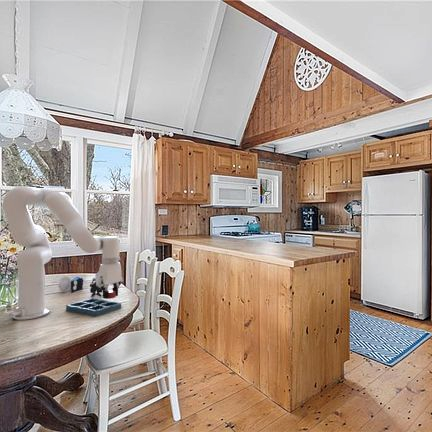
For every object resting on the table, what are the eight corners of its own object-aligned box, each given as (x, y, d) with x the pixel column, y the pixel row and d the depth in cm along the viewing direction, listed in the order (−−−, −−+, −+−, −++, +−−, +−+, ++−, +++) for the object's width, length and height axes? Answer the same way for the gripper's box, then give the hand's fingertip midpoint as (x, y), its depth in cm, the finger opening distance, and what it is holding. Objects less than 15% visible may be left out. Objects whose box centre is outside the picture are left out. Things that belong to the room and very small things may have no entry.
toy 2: (106, 308, 184) (110, 286, 194) (102, 291, 171) (107, 268, 180) (92, 308, 181) (97, 287, 191) (86, 292, 168) (92, 269, 178)
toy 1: (87, 291, 191) (67, 294, 177) (73, 288, 193) (51, 291, 178) (90, 277, 192) (70, 278, 178) (76, 274, 194) (55, 276, 179)
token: (109, 299, 150) (109, 293, 150) (102, 298, 151) (103, 292, 151) (117, 296, 154) (117, 290, 154) (111, 295, 156) (111, 289, 155)
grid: (95, 316, 142) (95, 310, 142) (66, 310, 149) (66, 305, 149) (121, 308, 155) (121, 303, 155) (92, 303, 162) (93, 298, 162)
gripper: (120, 258, 162) (119, 292, 162) (89, 262, 146) (88, 300, 146) (130, 259, 159) (130, 293, 159) (100, 264, 143) (100, 302, 143)
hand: (110, 296), depth 153 cm, fingers closed on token, 4 cm apart
